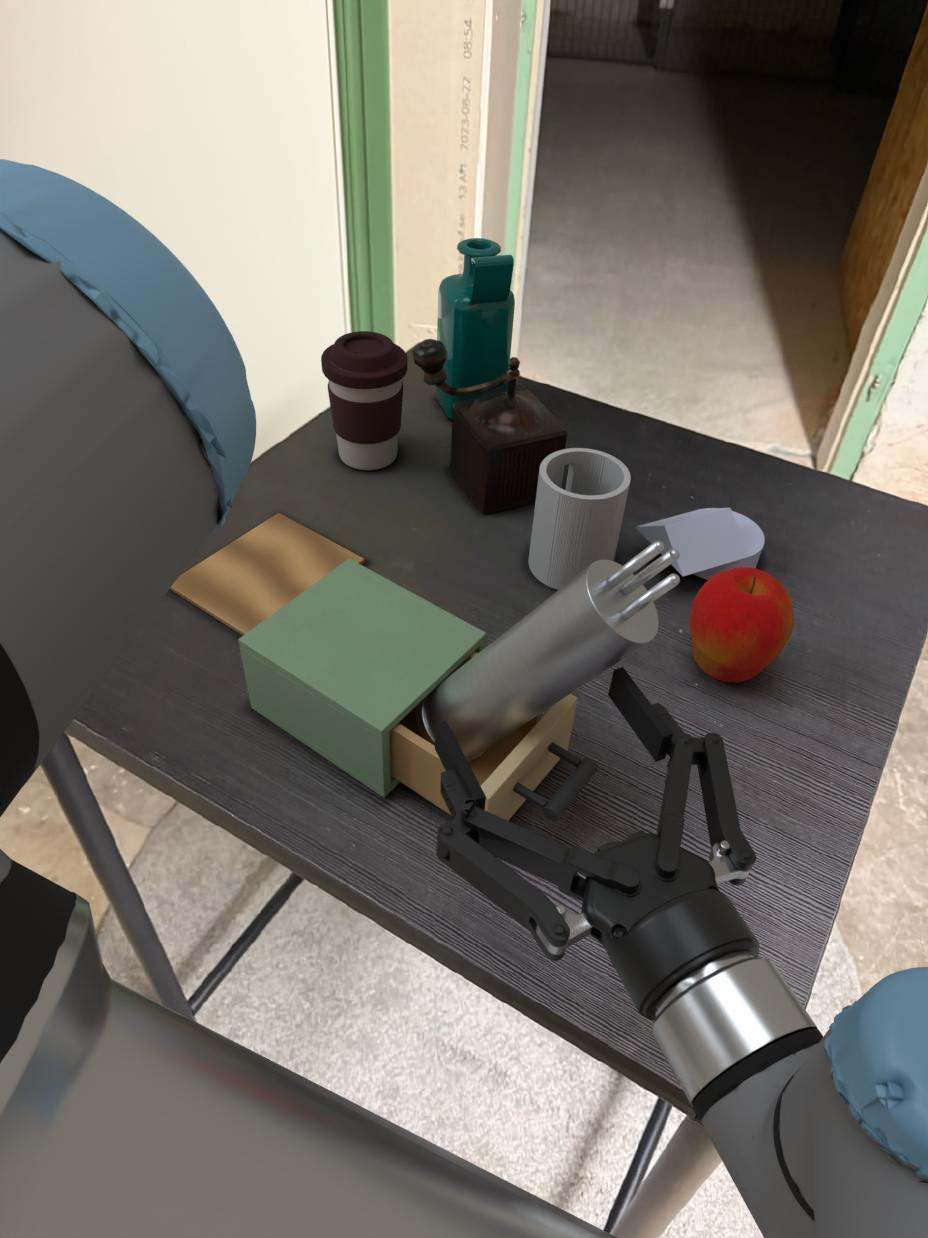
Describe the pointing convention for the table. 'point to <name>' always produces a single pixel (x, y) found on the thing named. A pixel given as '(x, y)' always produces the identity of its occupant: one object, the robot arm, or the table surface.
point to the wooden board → (260, 572)
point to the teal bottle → (476, 320)
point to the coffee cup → (365, 397)
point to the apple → (739, 623)
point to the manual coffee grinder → (494, 435)
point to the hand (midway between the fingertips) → (530, 706)
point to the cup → (576, 513)
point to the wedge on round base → (708, 540)
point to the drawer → (499, 762)
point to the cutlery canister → (550, 652)
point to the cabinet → (352, 666)
